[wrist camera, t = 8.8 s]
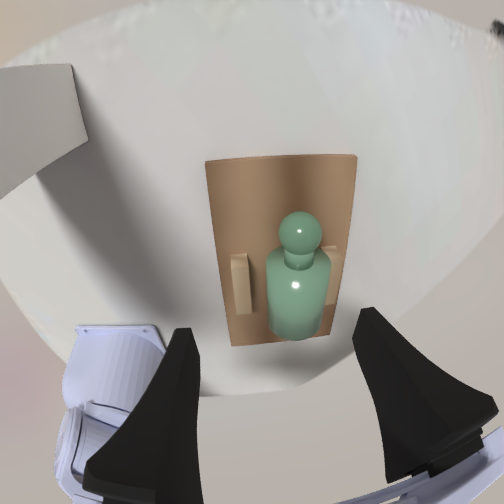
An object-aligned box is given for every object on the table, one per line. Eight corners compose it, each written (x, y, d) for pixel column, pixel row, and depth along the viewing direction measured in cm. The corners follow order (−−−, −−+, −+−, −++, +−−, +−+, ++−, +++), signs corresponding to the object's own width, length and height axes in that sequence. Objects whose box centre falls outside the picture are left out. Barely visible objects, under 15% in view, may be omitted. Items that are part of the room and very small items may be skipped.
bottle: (280, 348, 20) (283, 238, 15) (259, 309, 24) (254, 205, 18) (331, 329, 21) (351, 223, 16) (306, 294, 25) (313, 194, 19)
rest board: (231, 341, 28) (232, 361, 26) (205, 161, 17) (202, 172, 15) (328, 330, 28) (334, 348, 26) (353, 154, 18) (368, 165, 16)
